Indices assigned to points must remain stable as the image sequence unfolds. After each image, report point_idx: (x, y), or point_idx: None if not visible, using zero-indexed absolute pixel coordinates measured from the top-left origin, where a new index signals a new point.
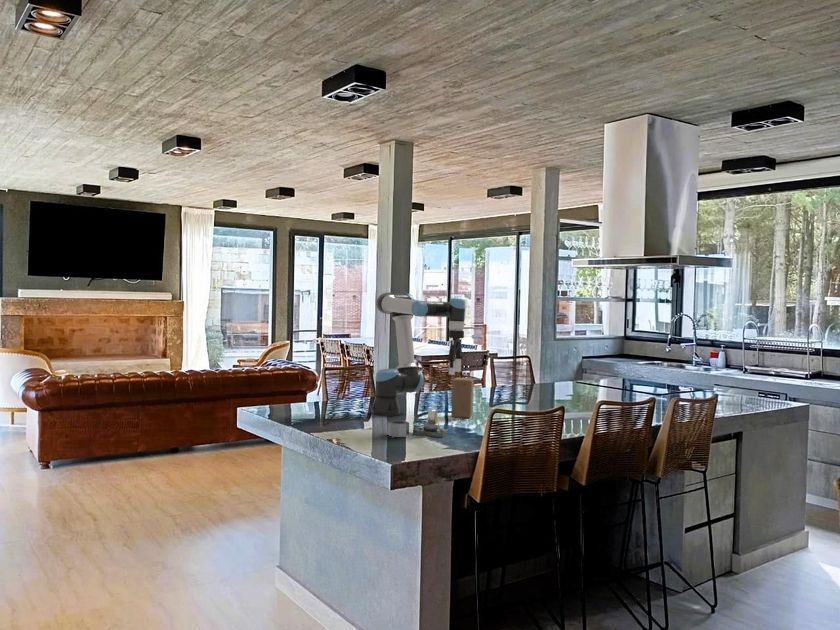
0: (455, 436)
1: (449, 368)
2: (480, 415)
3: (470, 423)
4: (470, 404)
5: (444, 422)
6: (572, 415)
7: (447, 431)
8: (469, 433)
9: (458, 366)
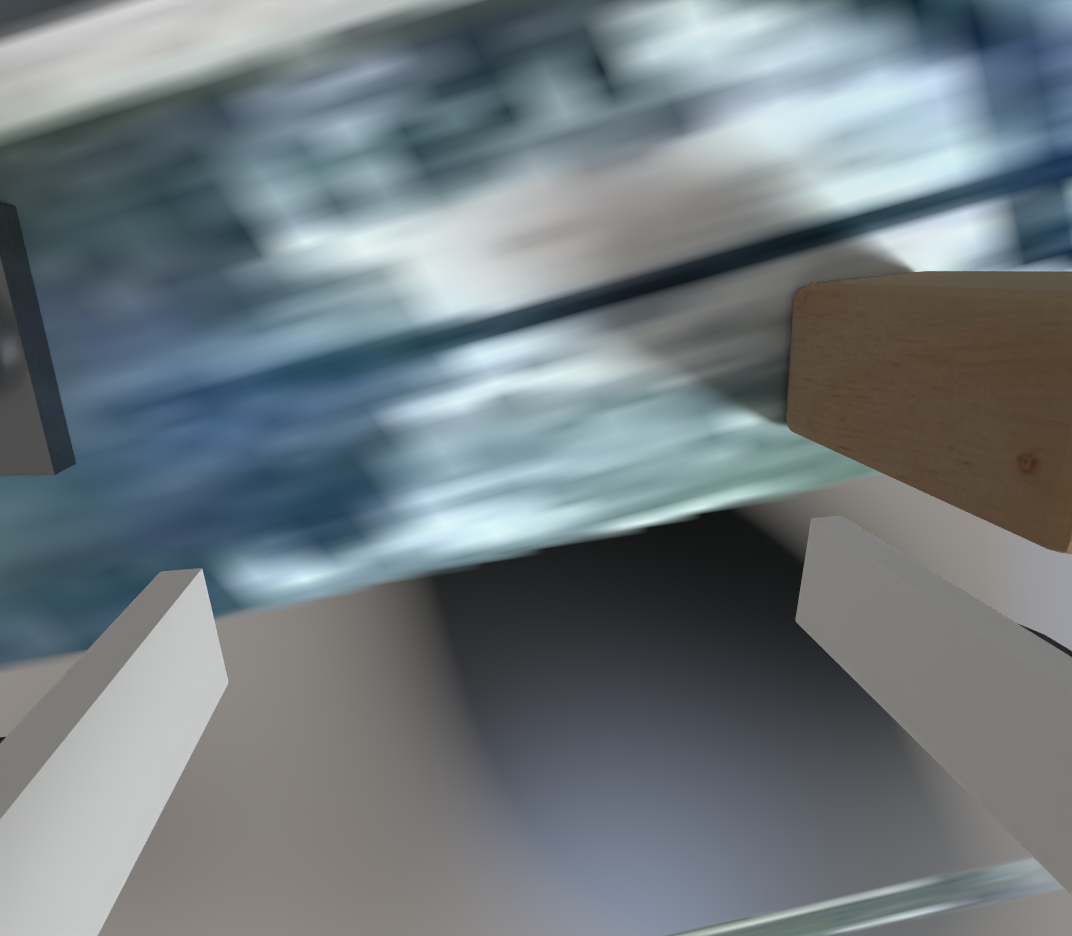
0: (14, 531)
1: (79, 683)
2: None
3: (592, 483)
4: (856, 460)
5: (539, 296)
6: None
7: (6, 473)
8: None
9: (886, 658)
